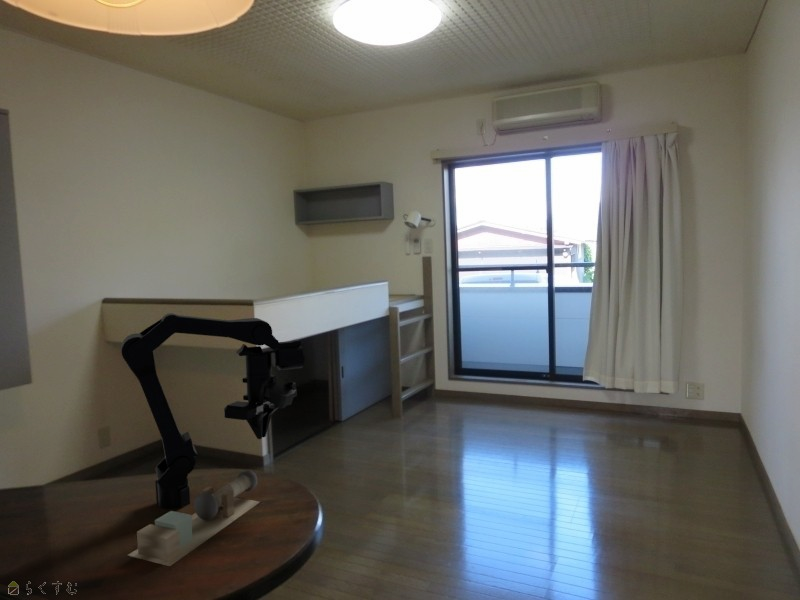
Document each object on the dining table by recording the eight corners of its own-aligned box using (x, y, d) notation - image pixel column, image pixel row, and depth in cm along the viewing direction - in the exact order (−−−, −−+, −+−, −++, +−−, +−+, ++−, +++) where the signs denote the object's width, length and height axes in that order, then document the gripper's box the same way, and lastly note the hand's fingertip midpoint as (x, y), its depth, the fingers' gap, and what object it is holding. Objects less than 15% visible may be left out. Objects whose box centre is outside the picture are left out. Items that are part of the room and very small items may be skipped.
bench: (127, 559, 98) (125, 528, 98) (223, 498, 122) (222, 473, 122) (170, 570, 95) (168, 538, 94) (260, 505, 119) (259, 479, 118)
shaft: (194, 517, 110) (193, 493, 110) (240, 488, 124) (239, 466, 124) (214, 522, 109) (213, 497, 108) (259, 491, 122) (258, 469, 122)
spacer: (156, 545, 101) (154, 520, 101) (172, 535, 105) (171, 510, 104) (176, 551, 99) (175, 525, 99) (192, 540, 103) (191, 515, 103)
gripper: (263, 384, 114) (266, 456, 115) (309, 366, 131) (311, 429, 132) (221, 380, 118) (224, 450, 119) (271, 363, 135) (273, 424, 137)
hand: (261, 437), depth 127 cm, fingers closed
